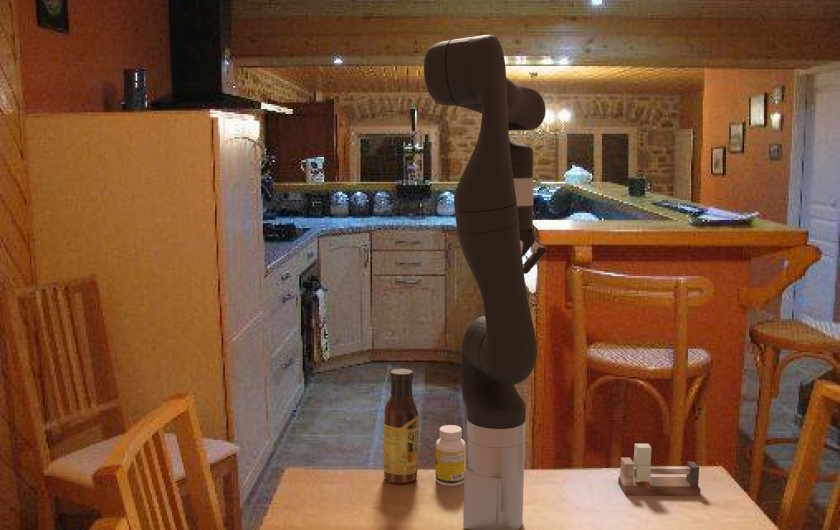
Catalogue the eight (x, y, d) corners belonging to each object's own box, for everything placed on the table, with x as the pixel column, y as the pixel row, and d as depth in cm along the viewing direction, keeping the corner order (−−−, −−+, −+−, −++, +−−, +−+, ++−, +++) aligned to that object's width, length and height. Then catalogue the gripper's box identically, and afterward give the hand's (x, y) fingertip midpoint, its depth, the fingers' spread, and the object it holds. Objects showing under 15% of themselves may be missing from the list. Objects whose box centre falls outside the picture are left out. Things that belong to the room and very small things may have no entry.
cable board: (690, 483, 147) (692, 455, 146) (700, 495, 142) (701, 466, 141) (618, 482, 147) (619, 455, 146) (625, 494, 142) (626, 466, 141)
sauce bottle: (414, 487, 144) (414, 378, 141) (379, 483, 145) (379, 375, 142) (421, 472, 150) (422, 367, 147) (388, 469, 152) (388, 365, 149)
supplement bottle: (440, 473, 150) (441, 421, 149) (468, 477, 149) (469, 425, 147) (431, 484, 145) (431, 431, 144) (460, 489, 144) (461, 435, 142)
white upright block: (646, 474, 145) (647, 442, 144) (650, 480, 143) (652, 448, 142) (632, 474, 145) (634, 442, 144) (636, 480, 143) (638, 448, 142)
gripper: (477, 203, 145) (475, 299, 148) (552, 204, 145) (548, 300, 148) (474, 200, 153) (472, 292, 155) (545, 201, 153) (542, 292, 155)
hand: (510, 295), depth 152 cm, fingers closed
